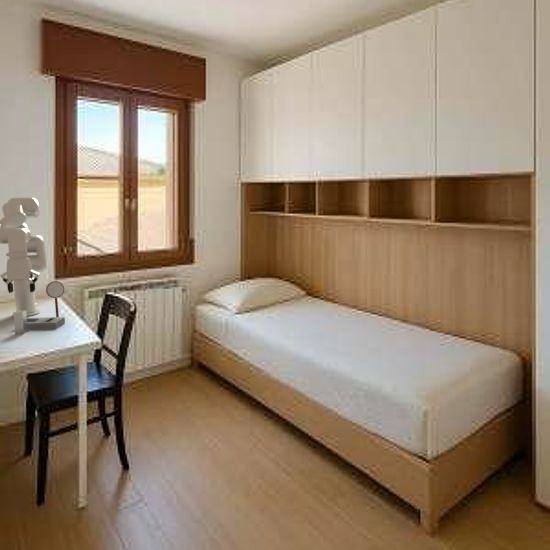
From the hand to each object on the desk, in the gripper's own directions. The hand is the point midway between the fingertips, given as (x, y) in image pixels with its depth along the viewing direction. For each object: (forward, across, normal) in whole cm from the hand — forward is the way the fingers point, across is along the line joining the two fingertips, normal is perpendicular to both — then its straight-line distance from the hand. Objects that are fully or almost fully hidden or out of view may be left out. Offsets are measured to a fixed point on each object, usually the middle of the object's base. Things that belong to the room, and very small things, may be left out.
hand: (21, 292), depth 225 cm
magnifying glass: (+18, +7, +21) cm, 29 cm away
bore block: (+18, +4, +8) cm, 20 cm away
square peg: (+19, 0, -3) cm, 19 cm away
